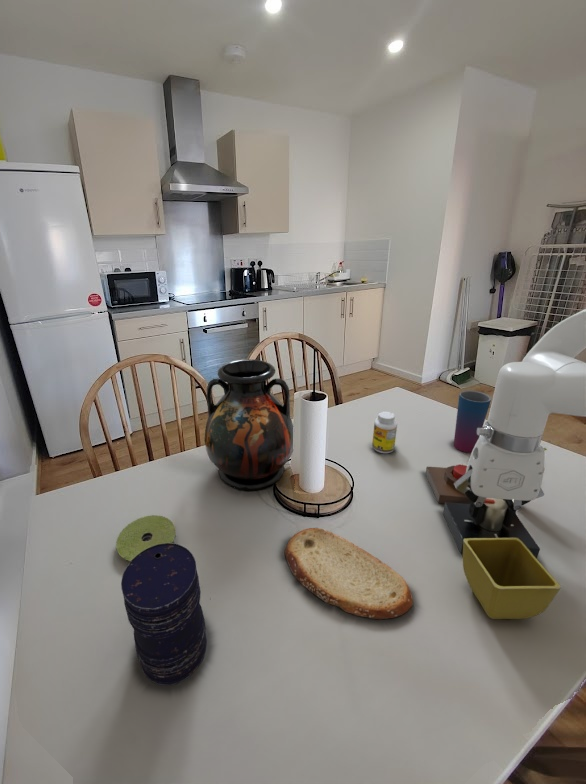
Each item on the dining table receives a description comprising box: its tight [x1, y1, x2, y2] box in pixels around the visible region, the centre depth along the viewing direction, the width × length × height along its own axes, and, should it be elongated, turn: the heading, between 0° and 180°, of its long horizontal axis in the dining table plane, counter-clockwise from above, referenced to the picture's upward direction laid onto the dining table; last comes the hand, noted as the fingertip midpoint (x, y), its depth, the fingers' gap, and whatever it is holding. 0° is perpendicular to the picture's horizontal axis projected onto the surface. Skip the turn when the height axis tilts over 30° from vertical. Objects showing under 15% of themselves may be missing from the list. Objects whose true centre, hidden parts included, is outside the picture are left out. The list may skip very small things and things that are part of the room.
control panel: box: [442, 502, 541, 560], centre depth 67 cm, size 12×10×3 cm
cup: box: [453, 390, 492, 453], centre depth 92 cm, size 7×7×15 cm
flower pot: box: [462, 538, 562, 620], centre depth 54 cm, size 9×9×9 cm
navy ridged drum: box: [120, 542, 208, 686], centre depth 49 cm, size 10×10×15 cm
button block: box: [424, 465, 471, 505], centre depth 79 cm, size 12×10×4 cm
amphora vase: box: [204, 358, 294, 493], centre depth 84 cm, size 22×22×28 cm
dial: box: [480, 498, 508, 531], centre depth 65 cm, size 4×4×5 cm
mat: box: [115, 514, 177, 562], centre depth 69 cm, size 11×11×2 cm
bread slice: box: [284, 527, 414, 620], centre depth 61 cm, size 18×18×4 cm
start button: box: [453, 464, 467, 479], centre depth 78 cm, size 4×4×2 cm
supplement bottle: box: [371, 411, 398, 454], centre depth 94 cm, size 6×6×10 cm
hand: (489, 519), depth 66 cm, fingers closed on dial, 4 cm apart
